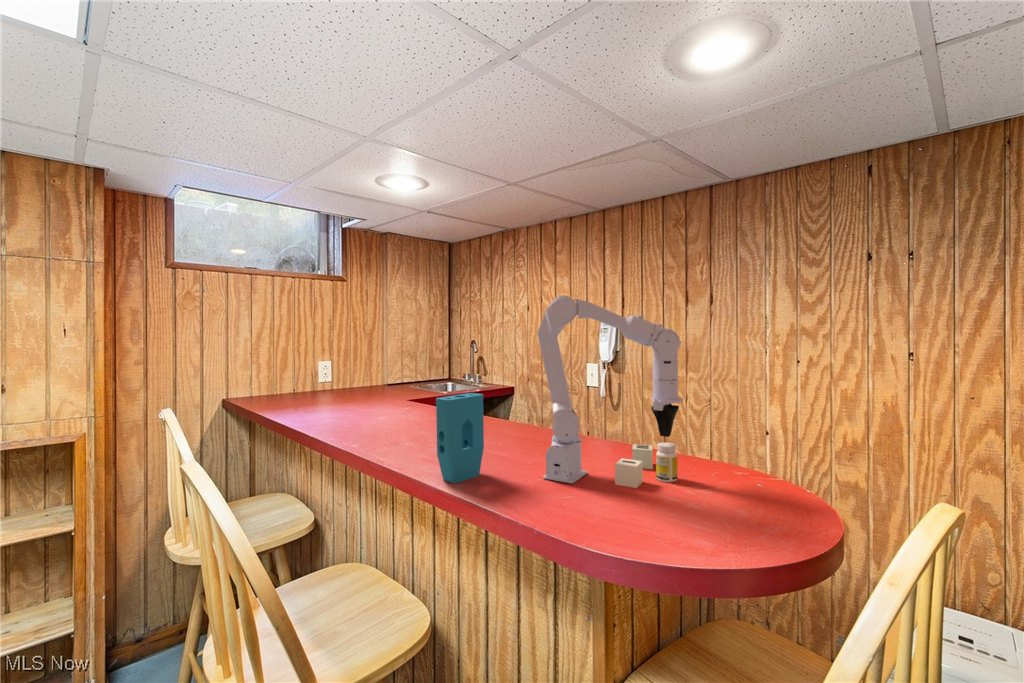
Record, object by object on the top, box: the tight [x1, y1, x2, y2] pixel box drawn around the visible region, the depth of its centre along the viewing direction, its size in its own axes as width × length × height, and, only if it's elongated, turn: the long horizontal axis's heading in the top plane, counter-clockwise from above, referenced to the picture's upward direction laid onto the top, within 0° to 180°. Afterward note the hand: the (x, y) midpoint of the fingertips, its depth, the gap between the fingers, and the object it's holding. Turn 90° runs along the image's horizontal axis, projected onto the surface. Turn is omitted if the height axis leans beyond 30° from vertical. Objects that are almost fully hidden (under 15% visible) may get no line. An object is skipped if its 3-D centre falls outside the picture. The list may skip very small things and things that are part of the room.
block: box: [435, 392, 485, 484], centre depth 113 cm, size 12×5×20 cm, turn 138°
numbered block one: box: [614, 457, 644, 489], centre depth 108 cm, size 5×5×5 cm
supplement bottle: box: [655, 442, 678, 483], centre depth 110 cm, size 5×5×8 cm
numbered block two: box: [631, 443, 654, 470], centre depth 121 cm, size 5×5×5 cm
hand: (665, 435), depth 110 cm, fingers closed
